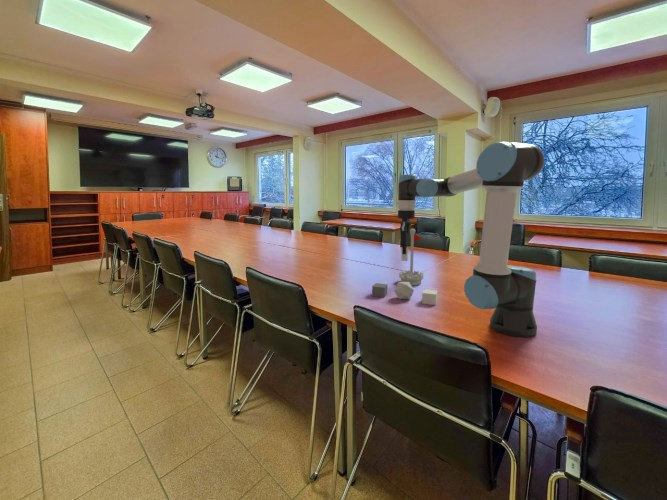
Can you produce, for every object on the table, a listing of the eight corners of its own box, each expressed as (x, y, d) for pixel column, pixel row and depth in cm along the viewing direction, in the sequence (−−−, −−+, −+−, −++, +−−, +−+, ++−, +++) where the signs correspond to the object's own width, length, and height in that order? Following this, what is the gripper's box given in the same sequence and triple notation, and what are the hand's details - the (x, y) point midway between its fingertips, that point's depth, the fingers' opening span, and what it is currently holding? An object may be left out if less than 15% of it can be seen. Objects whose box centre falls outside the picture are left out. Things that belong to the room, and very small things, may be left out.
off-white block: (435, 305, 148) (436, 294, 147) (421, 303, 150) (422, 293, 150) (437, 301, 153) (437, 290, 153) (423, 299, 156) (424, 289, 155)
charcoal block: (384, 297, 159) (384, 287, 158) (372, 296, 162) (372, 286, 161) (387, 294, 165) (387, 284, 164) (375, 292, 167) (375, 283, 166)
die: (409, 304, 152) (419, 285, 153) (392, 294, 152) (402, 276, 154) (405, 304, 160) (414, 287, 161) (389, 295, 160) (399, 278, 162)
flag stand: (397, 284, 180) (399, 229, 175) (400, 278, 192) (401, 227, 187) (422, 286, 176) (424, 230, 171) (423, 280, 189) (425, 227, 183)
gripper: (401, 208, 158) (399, 257, 162) (394, 210, 146) (393, 262, 150) (417, 208, 155) (415, 258, 159) (412, 210, 143) (409, 264, 147)
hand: (404, 260), depth 155 cm, fingers closed
